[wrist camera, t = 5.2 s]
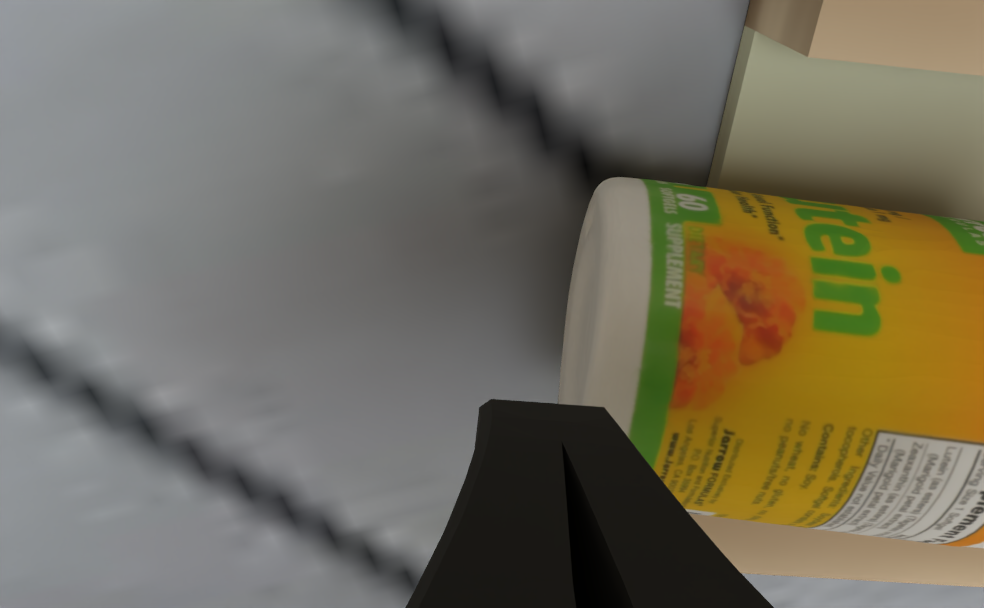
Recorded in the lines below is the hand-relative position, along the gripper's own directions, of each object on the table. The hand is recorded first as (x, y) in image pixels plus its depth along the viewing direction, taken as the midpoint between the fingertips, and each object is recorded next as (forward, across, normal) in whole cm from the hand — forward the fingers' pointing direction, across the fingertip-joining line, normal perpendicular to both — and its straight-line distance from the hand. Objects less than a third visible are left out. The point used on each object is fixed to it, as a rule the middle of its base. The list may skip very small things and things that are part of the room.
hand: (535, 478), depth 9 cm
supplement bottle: (+5, -1, +1) cm, 5 cm away
